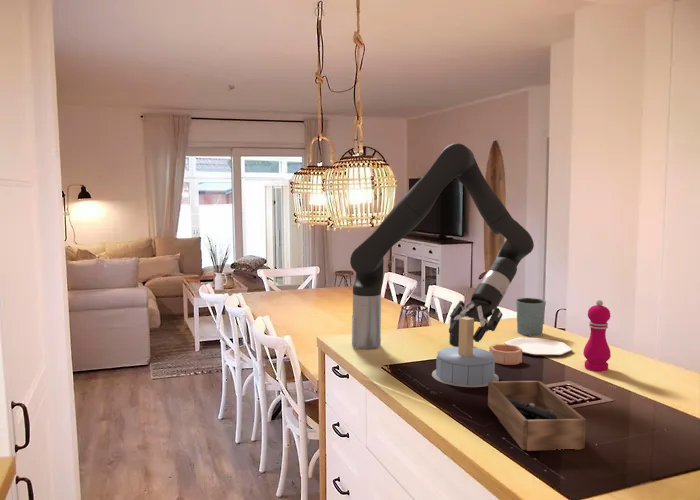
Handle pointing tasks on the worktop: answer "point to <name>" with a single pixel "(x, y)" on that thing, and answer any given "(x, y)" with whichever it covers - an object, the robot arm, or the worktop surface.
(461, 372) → the cover
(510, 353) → the bowl
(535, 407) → the can opener
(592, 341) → the pepper mill
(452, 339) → the supplement bottle
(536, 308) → the green cup
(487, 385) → the mat
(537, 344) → the plate
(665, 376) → the worktop surface
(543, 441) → the caddy
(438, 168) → the robot arm
